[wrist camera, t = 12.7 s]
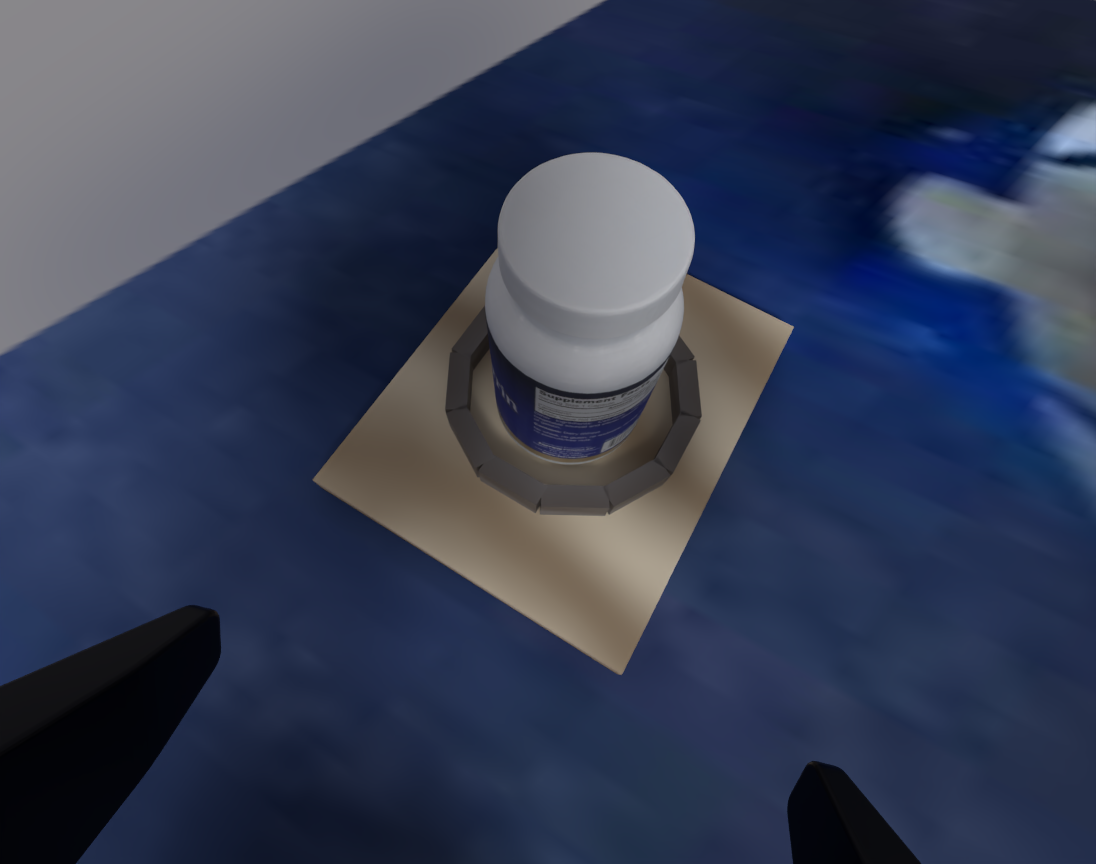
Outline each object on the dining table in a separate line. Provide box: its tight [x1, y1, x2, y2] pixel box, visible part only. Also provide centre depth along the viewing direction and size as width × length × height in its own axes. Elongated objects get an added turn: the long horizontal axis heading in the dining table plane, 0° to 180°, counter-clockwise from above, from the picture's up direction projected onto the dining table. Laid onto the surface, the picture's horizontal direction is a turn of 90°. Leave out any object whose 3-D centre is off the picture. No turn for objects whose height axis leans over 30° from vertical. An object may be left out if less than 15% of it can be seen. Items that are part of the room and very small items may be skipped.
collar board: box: [313, 248, 794, 675], centre depth 22 cm, size 16×13×2 cm
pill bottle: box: [485, 153, 695, 465], centre depth 18 cm, size 6×6×10 cm
